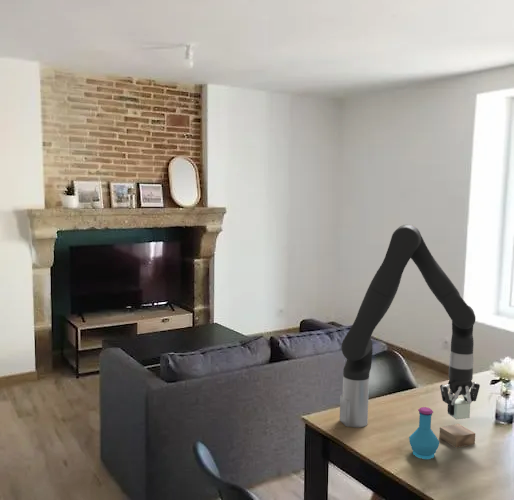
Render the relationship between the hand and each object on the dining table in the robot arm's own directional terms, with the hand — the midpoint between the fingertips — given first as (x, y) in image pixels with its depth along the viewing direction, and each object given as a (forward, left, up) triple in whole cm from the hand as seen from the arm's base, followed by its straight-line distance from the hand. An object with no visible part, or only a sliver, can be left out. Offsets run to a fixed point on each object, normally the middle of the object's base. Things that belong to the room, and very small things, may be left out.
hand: (458, 413), depth 187 cm
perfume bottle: (-16, -6, -10) cm, 20 cm away
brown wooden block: (0, 0, -10) cm, 10 cm away
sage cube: (0, 0, -1) cm, 1 cm away
